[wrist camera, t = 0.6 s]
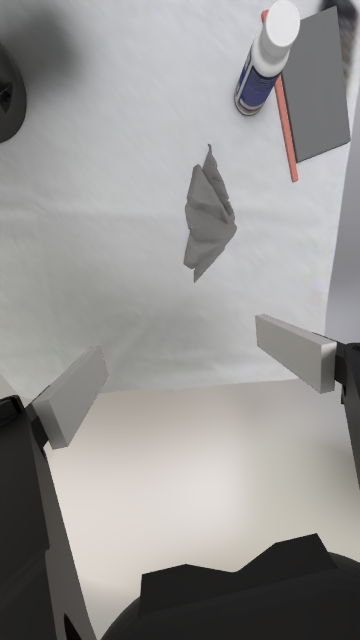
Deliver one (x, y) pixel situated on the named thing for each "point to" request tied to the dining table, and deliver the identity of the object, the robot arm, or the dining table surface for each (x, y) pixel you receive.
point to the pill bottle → (267, 56)
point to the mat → (316, 87)
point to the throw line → (284, 121)
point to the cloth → (207, 217)
